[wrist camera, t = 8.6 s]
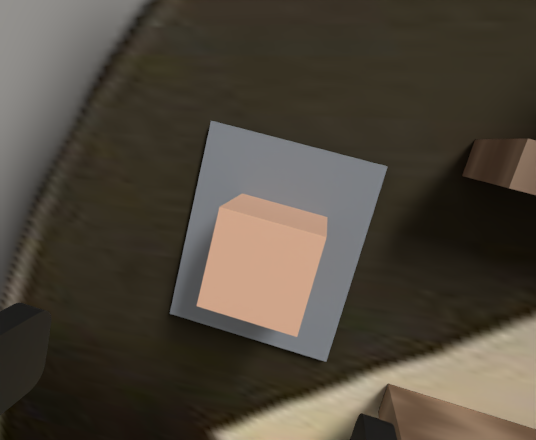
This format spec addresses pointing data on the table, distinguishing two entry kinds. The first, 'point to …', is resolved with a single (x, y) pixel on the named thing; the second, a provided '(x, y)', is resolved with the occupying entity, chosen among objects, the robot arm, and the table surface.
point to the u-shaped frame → (437, 411)
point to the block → (263, 262)
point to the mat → (290, 194)
